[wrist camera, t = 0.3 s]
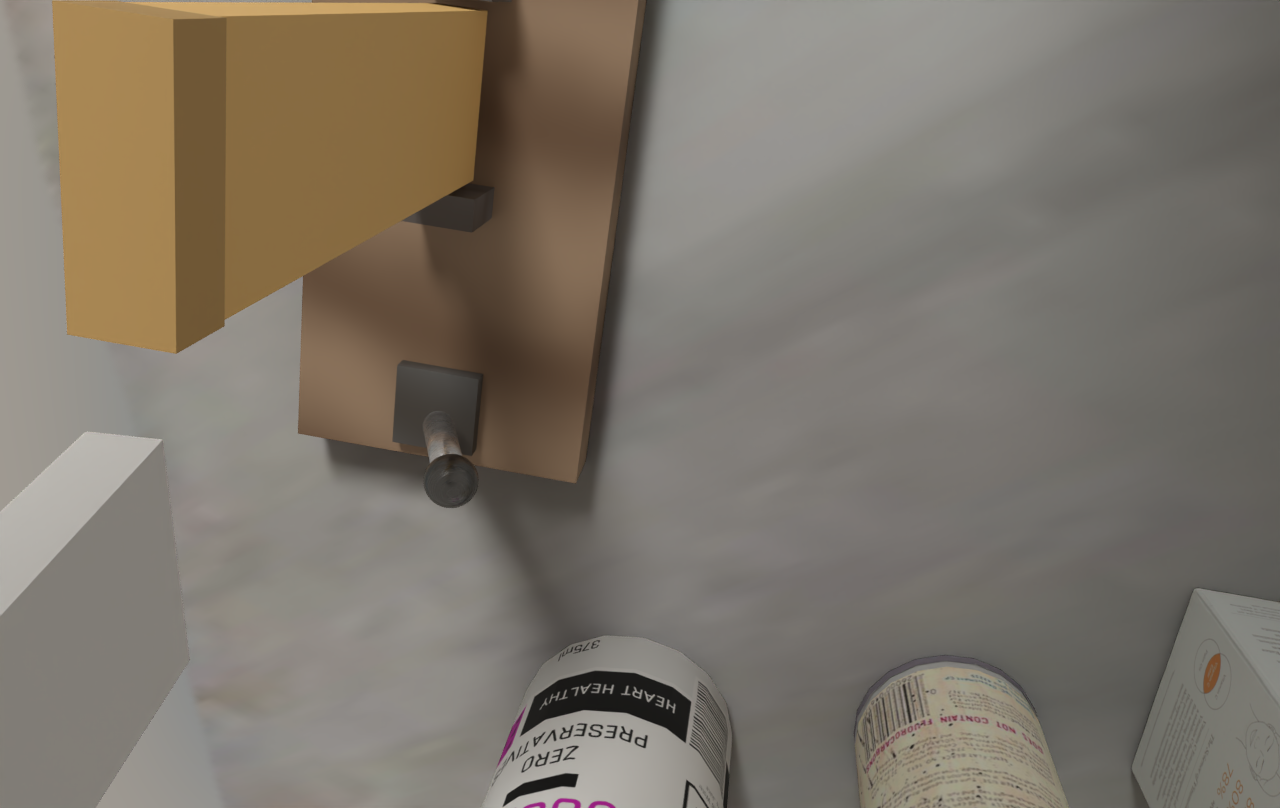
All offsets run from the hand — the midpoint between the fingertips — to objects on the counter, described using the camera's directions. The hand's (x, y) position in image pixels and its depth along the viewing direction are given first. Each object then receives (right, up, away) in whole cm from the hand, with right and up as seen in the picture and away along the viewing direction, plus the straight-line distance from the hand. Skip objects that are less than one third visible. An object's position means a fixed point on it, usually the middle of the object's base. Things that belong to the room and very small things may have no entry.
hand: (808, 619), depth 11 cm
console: (-7, +13, +25) cm, 29 cm away
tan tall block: (-7, +12, +23) cm, 27 cm away
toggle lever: (-9, +2, +26) cm, 28 cm away
